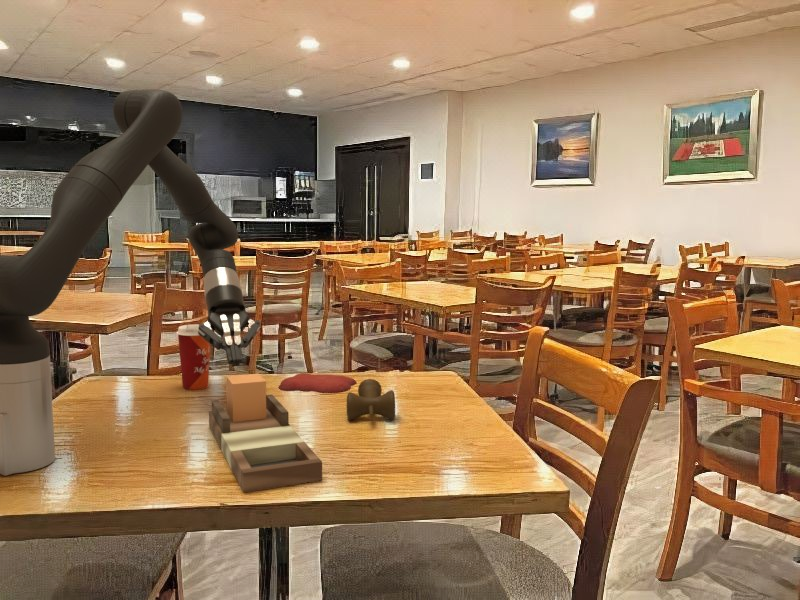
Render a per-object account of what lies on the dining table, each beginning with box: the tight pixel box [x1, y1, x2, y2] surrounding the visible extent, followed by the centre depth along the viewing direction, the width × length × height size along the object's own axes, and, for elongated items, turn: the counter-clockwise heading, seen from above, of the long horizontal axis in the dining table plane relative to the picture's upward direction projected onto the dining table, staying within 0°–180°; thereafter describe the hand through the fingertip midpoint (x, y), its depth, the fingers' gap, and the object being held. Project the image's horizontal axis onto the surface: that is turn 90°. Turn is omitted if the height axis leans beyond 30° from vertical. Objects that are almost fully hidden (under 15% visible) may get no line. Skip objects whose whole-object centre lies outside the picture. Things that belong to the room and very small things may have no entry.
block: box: [225, 373, 267, 422], centre depth 125 cm, size 6×6×7 cm
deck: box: [208, 394, 323, 493], centre depth 115 cm, size 32×12×6 cm, turn 24°
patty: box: [278, 372, 358, 394], centre depth 159 cm, size 18×14×2 cm
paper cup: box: [176, 323, 211, 391], centre depth 155 cm, size 8×8×14 cm
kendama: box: [346, 378, 396, 422], centre depth 138 cm, size 6×10×20 cm
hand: (236, 364), depth 133 cm, fingers closed
